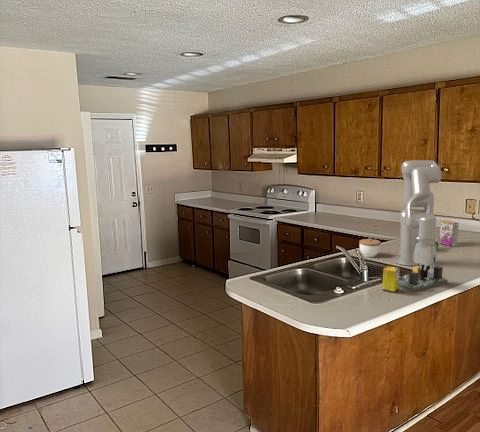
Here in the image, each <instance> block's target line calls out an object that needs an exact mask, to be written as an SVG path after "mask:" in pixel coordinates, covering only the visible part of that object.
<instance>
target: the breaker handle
mask: <svg viewBox="0 0 480 432" xmlns="http://www.w3.org/2000/svg"><path fill="white" fill-rule="evenodd" d="M412 272H417V273H418V279H419V280H421V277H420V273H421V270H420V267H419V266H418V265H415V266H412Z"/></svg>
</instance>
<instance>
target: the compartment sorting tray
mask: <svg viewBox="0 0 480 432" xmlns="http://www.w3.org/2000/svg"><path fill="white" fill-rule="evenodd" d="M443 270H444V269H443V267H442V266H440V265H435V268H433V271H432V272H433V273H431V272H428V276H427V278H421V280H419V279H418V273H417V272H413V271H410V272H408V274H403V277H402V276H399V288H400V289H403V290H406V291H409V292H413V293H414V292H418V291H421V290H424V289H429V288H432V287H436V286H440V285H443V284H448V283H449V280H448V279H447V277H444V276H443Z"/></svg>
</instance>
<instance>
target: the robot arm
mask: <svg viewBox="0 0 480 432" xmlns="http://www.w3.org/2000/svg"><path fill="white" fill-rule="evenodd" d="M400 168H401V170H400V171H401V175H402V179H403V182H404V185H403V205H404V209H402V210H401V211H400V213H399V222H400V223H399V224H400V232H399V233H400V234H399V235H400V236H399V237H400V238H399V254H398V258H397V259H395V262H396V264H398V265H401V266H402V265H403V266H411V267H414V266H419V267H420V270H421V273H420V277H421V278H427V276H428V273H429V270H431V269H434V268H435V266H436V263H437V252H436V246H435V245H434V244H435V242H436V231H437V230H436V228H437V217H436V216H435V215H434V206H435V195H434V193H433V191H431V185H430V184H438V183H440V182H441V180H442V171H441V168H440V166H439V165H438V164H437V162H436V161H434V160H428V159H427V160H425V159H424V160H421V159H420V160H419V159H417V160H416V159H415V160H410V159H409V160H405V161H403V162H402V164H401V167H400ZM414 208H415V209H414ZM418 208H423V209H418ZM417 229H418V230H417Z"/></svg>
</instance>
